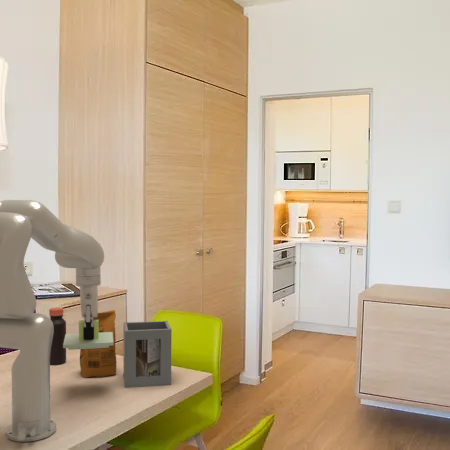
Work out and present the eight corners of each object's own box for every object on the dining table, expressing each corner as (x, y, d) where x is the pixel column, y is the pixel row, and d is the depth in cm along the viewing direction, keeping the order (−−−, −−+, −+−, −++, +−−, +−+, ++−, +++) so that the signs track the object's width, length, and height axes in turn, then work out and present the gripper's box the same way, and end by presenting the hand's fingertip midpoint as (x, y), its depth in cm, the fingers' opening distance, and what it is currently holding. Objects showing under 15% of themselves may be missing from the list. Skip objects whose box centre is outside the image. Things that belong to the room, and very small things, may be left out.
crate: (171, 384, 185) (171, 329, 184) (124, 387, 182) (125, 331, 181) (166, 372, 197) (167, 320, 196) (123, 375, 194) (123, 322, 192)
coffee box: (162, 380, 188) (163, 333, 187) (147, 385, 184) (147, 337, 183) (146, 374, 195) (146, 328, 194) (130, 378, 190) (131, 331, 189)
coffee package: (80, 369, 199) (79, 308, 198) (115, 367, 202) (115, 307, 201) (79, 379, 189) (79, 314, 188) (117, 376, 192) (117, 313, 191)
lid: (113, 348, 174) (113, 324, 173) (63, 351, 171) (62, 327, 170) (112, 337, 185) (112, 315, 185) (65, 340, 182) (65, 317, 182)
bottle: (47, 360, 209) (46, 307, 208) (65, 359, 211) (65, 306, 210) (46, 365, 203) (46, 311, 202) (66, 364, 205) (66, 310, 204)
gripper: (100, 284, 169) (101, 344, 171) (100, 275, 185) (101, 330, 187) (74, 285, 168) (75, 345, 169) (77, 276, 183) (77, 331, 185)
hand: (88, 337), depth 178 cm, fingers closed on lid, 3 cm apart
